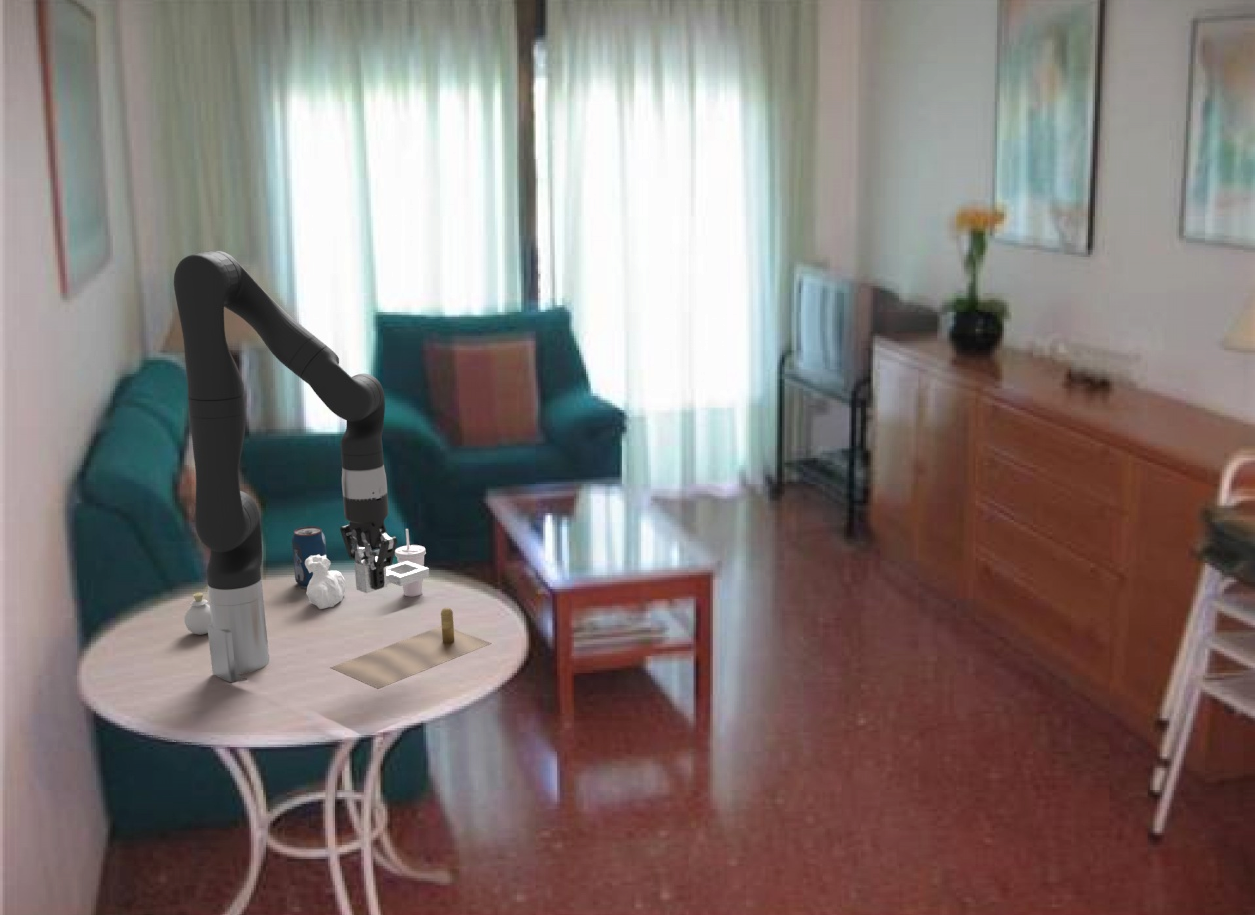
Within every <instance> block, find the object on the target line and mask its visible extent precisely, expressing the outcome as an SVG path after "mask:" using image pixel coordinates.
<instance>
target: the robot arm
mask: <svg viewBox="0 0 1255 915" xmlns="http://www.w3.org/2000/svg"><path fill="white" fill-rule="evenodd" d="M173 288H174V294H175V299H176V305H177V310H178V311H177V312H178V316H179V320H180V326H181V332H182V338H183V347H184V349H183V350H184V362H185V372H186V381H187V382H186V384H187V400H188V401H187V402H188V415H189V422H190V423H189V424H190V430H191V431H190V432H191V441H192V442H191V443H192V453H193V460H194V461H193V462H194V469H195V503H194V504H195V505H194V506H195V508H194V527H195V531H196V535H197V537H198V539H199V540H200V541H201V543H202V544H203V545H204V546H205V547H206V548H208V549H209V550H210V552H209V553H210V554H209V555H210V556H209V560H208V561H209V562H208V564H207V568H206V573H205V574H206V582H207V583H206V584H207V589H208V590H207V593H208V599H209V601H208V602H209V605H210V611H211V620H212V623H211V624H209V625H208V626H207V628H208V633H207V635H208V643H209V644H208V646H209V654H210V660H211V661H210V662H211V663H210V664H211V672H212V674H213V675H214V676H215V677H219V678H221V679H222V680H223V681H227V682H228V683H233V682H236V681H244V680H245V681H246V680H248V678H247V677H245V676H242V674H247V673H252V672H256V671H258V670H261V669H262V668H265V667H266V666H267V665H269V663H270V653H269V643H268V642H269V640H268V630H267V621H266V612H265V600H264V591H263V581H262V563H263V541H262V540H263V539H262V525H261V524H262V523H261V516H260V512H259V511H260V510H259V508H258V506H257V503H256V502H255V500H254V499H253V498H252V497H251V496H250V495H249V494H248V493H247V492H244V491H242V490H240V489H241V487H240V475H239V473H240V462H241V456H242V452H243V445H244V439H245V433H246V423H247V422H246V420H247V419H246V417H247V416H246V415H247V414H246V401H245V400H246V399H245V398H246V397H245V389H244V383H243V382H244V381H243V380H242V376H241V373H240V370H239V368H238V366H237V364H236V360H235V358H233V355H232V353H231V351H230V348H229V346H228V342H227V338H226V337H227V336H226V331H225V309H227V310H229V311H231V312H232V313H234V314H235V315H237V316H239V317H240V318H241V319H242V320H244V321H245V322H246V323H248V325H249V326H250V327H251V328H252V329H253V330H254V331H255V332H256V334H258V336H259V337H260V339H261V340H262V341H263V343H264V345H265V346H266V347H267V349H268V350H269V351H270V353H271V354H273V356H274V357H275V358H276V359H277V360H278V361H279V362H280V363H281V364H282V365H283V366H284V367H286V368H287V369H289V371H291V372H292V373H293V374H295V375H296V376H297V377H298V378H300V379H301V380H302V381H303V382H305V383H306V384H308V385H309V387H310V388H311V389H312V390H313V392H314V394H316V396H317V397H318V398H319V399H320V400H321V401H322V403H323V404H324V405H325V406H326V407H327V408H328V409H329V410H330V411H331V412H332V413H333V414H334V415H335V416H337V417H339V418H341V419H343V420H345V421H346V428H345V432H344V434H343V435H342V436H341V439H340V456H341V468H342V469H341V470H342V471H341V474H342V475H341V488H342V500H343V502H342V503H343V514H344V518H345V521H348V522H349V523H348V524H347V525H343V526H340V528H339V529H340V534H341V536H342V541H343V542H344V545H345V549H346V552H347V555H348V558H349V559H350V560H354V562H357V561H361V560H364V559H367V558H369V561H370V567H371V582H372V589H374V590H376V591H378V590H377V589H379V590H381V589H380V588H382V589H384V588H383V587H384V583H385V581H384V567H389V566H392V565H393V560H394V556H395V550H396V549H397V544H398V538H397V537H396V536H392V537H391V536H390V535H388V533H387V529H386V528H387V527H386V525H385V520H386V518H388V516H389V514H390V510H389V499H388V483H387V474H386V470H385V469H386V468H385V465H384V451H383V450H384V448H383V441H382V439H383V430H384V421H385V412H386V399H385V393H384V388H383V386H382V384H381V382H380V381H379V380H378V379H377V378H376V377H375V376H373V375H371V374H368V373H358V374H355V375H353V376H351V375H349V373H348V372H347V371H346V370H344V369H343V368H342V367H341V365H339V364H340V358H339V356H338V355H337V353H336V352H335V351H334V350H333V349H331V348H330V347H329V346H327V344H325V343H324V342H323V341H321V339H319V338H318V337H317V336H315V335H314V334H313V333H312V332H310V331H309V330H308V329H306V328H305V327H304V326H303V325H302V324H300V323H299V321H297V320H295V318H293V317H292V316H291V315H290V314H289V313H288V312H286V310H285V309H283V308H282V307H281V306H280V305H279V304H278V303H277V302H276V301H275V300H274V299H273V298H272V297H271V296H270V295H269V293H268V292H266V291H265V290H264V289H263V288H262V286H260V285H259V283H258V282H257V281H256V280H255V279H254V278H253V277H252V276H251V274H250V273H249V272H248V271H247V270H246V269H245V268H244V267H243V266H242V265H241V263H239V261H237V260H236V259H235V257H233V256H232V255H231V254H229V253H227V252H225V251H221V250H209V251H202V252H198V253H197V252H196V253H193V254H190V255H187V256H185V257H184V258H182V260H180V261H179V263H178V265H177V266H176V268H175V271H174V274H173ZM375 556H376V557H378V559H377V562H376V560H375ZM240 674H241V675H240Z"/></svg>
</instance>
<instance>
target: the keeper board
mask: <svg viewBox="0 0 1255 915" xmlns="http://www.w3.org/2000/svg"><path fill="white" fill-rule="evenodd" d="M440 620H441V622H440V623H441V626H437V627H434V628H432V629H429V630H427V631H425V632H421V633H419V634H417V635H414V636H411V637H409V638H405V639H403V640H401V641H398V642H395V643H392V644H389V645H387V646H384V647H382V648H379V649H376V650H374V651H372V652H368V653H366V654H362V655H361V656H360V655H359V656H358V657H355V658H352V659H349V660H347V661H344V662H342V663H339V664H335V665H333V666H331V667H330V669H332V670H334V671H336V672H339V673H341V674H343V675H345V676H347V677H350V678H352V679H355V680H357V681H358V682H359V681H360V682H361V683H364V684H366V685H368V686H371V687H373V688H375V689H377V690H379V689H381V688H384V687H386V686H388V685H391V684H395V683H396V682H399V681H402V680H403V679H406V678H409V677H411V676H415V675H416V674H418V673H422V672H424V671H426V670H428V669H432V668H434V667H437V666H439V665H441V664H443V663H447V662H449V661H452V660H453V659H456V658H459V657H461V656H463V655H467V654H468V653H471V652H475V651H476V650H478V649H481V648H483V647H487V646H489V645H492V642H489V641H487V640H485V639H482V638H479V637H475V636H473V635H472V634H468V633H465V632H463V631H460V630H457V629H455V627H454V612H453V610H452V609H451V608H450V607H444V608H443V609H442V610H441V611H440Z"/></svg>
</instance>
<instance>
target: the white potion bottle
mask: <svg viewBox="0 0 1255 915" xmlns="http://www.w3.org/2000/svg"><path fill="white" fill-rule="evenodd" d="M204 590H205V591H206V592H208V586H205V588H204ZM203 596H204V593H202V592H197V593H196V592H195V593H194V594H193V598H194V599H193V600H192V601H190V603H189V604H190V607H189V608H188V609H187V610H186V613H184V614H185V615H184V625H185V627H186V628H187V630H188V631H189V632H190V633H192V634H194V635H200V636H201V635H205V634H208V628H207V626H208V625H209V624H211V623H212V620H211V611H210V604H208V602H209V601H208V600H207V599H205V598H203Z"/></svg>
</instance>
